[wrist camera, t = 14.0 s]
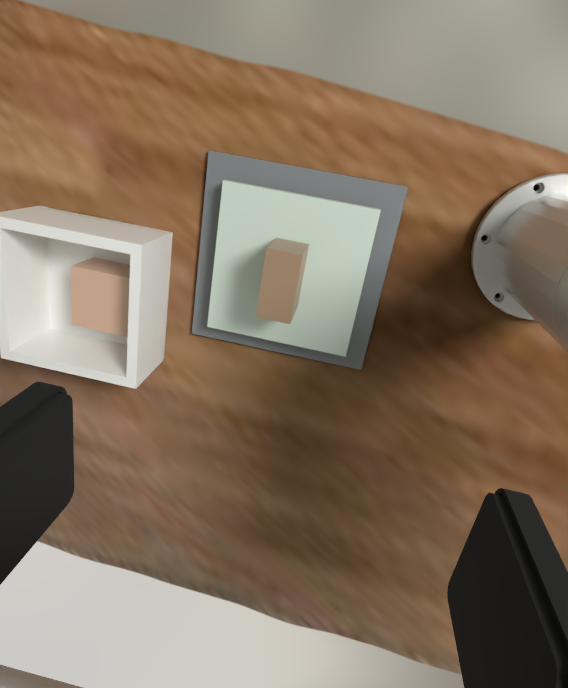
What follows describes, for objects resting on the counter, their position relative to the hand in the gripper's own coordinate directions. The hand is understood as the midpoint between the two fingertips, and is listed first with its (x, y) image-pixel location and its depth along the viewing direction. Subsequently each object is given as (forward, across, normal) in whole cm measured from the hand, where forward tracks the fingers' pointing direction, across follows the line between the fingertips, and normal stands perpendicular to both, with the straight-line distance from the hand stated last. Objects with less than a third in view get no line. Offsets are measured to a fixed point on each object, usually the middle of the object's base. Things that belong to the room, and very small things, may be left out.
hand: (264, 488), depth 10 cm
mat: (+36, +4, +4) cm, 37 cm away
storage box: (+36, +23, +10) cm, 44 cm away
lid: (+35, +4, +4) cm, 35 cm away
